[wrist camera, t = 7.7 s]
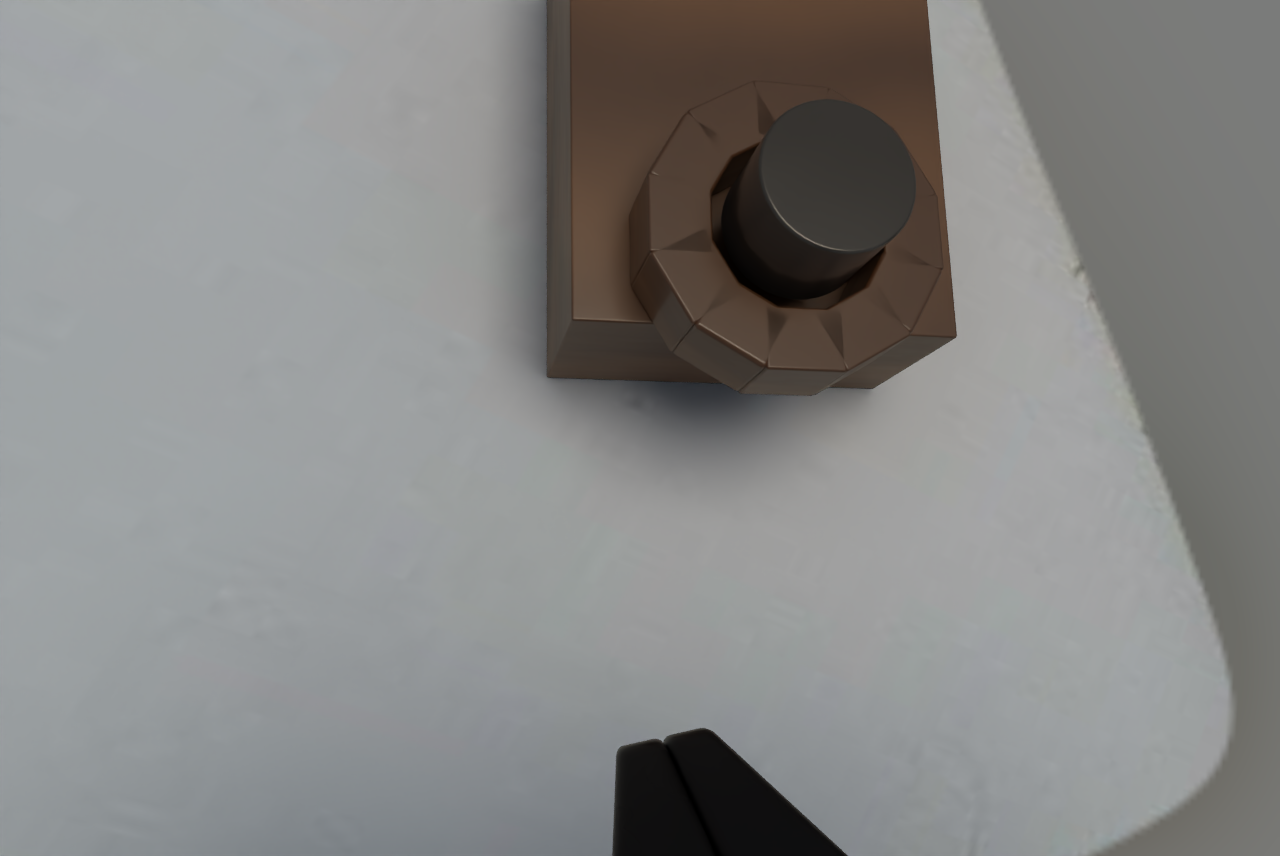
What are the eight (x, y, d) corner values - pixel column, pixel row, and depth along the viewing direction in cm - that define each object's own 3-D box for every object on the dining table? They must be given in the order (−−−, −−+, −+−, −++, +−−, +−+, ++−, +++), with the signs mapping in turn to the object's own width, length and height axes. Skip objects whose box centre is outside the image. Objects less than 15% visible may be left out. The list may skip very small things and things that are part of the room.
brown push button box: (877, 443, 25) (1011, 378, 19) (546, 435, 24) (585, 361, 18) (848, 23, 28) (959, -145, 22) (546, -9, 26) (581, -199, 20)
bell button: (867, 304, 20) (924, 258, 17) (723, 297, 19) (762, 248, 17) (857, 166, 20) (911, 104, 18) (717, 156, 20) (755, 90, 17)
